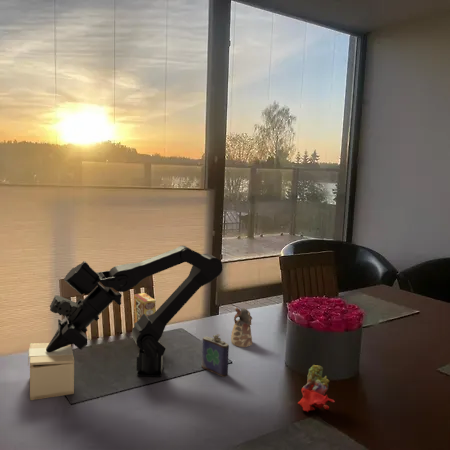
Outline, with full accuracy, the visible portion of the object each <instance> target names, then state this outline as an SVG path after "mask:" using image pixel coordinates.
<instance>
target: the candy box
mask: <svg viewBox="0 0 450 450" xmlns="http://www.w3.org/2000/svg"><path fill="white" fill-rule="evenodd" d="M156 301H157V300H156V299H155V298H153V297H151V296H150V295H149V294H147V293H146V292H144V293H142V292H141V293H136V294H133V327H134V326H135V325H134V323H136V322H137V321H138V320H139V319H140V318H141V316H142V315H143V314H145V315H146V316H147V317H148V316H150V315H152V314H154V313H155V312H156Z"/></svg>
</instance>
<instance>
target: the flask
mask: <svg viewBox="0 0 450 450" xmlns="http://www.w3.org/2000/svg"><path fill="white" fill-rule="evenodd" d="M219 336H220V334H219V333H218V334H217V333H216V334H215V335H212V337H211V336H203V337H202V349H201V365H200V366H201V367H202V369H204V370H206V371H208V372H211V373H214V374H217V375H218V376H220V377H224V378H225V377H228V375H229V373H228V372H229V352H230V351H229V350H230V349H229V348H230V345H229V343H226V341H223V340H222V339H221V338H220V337H219Z"/></svg>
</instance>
